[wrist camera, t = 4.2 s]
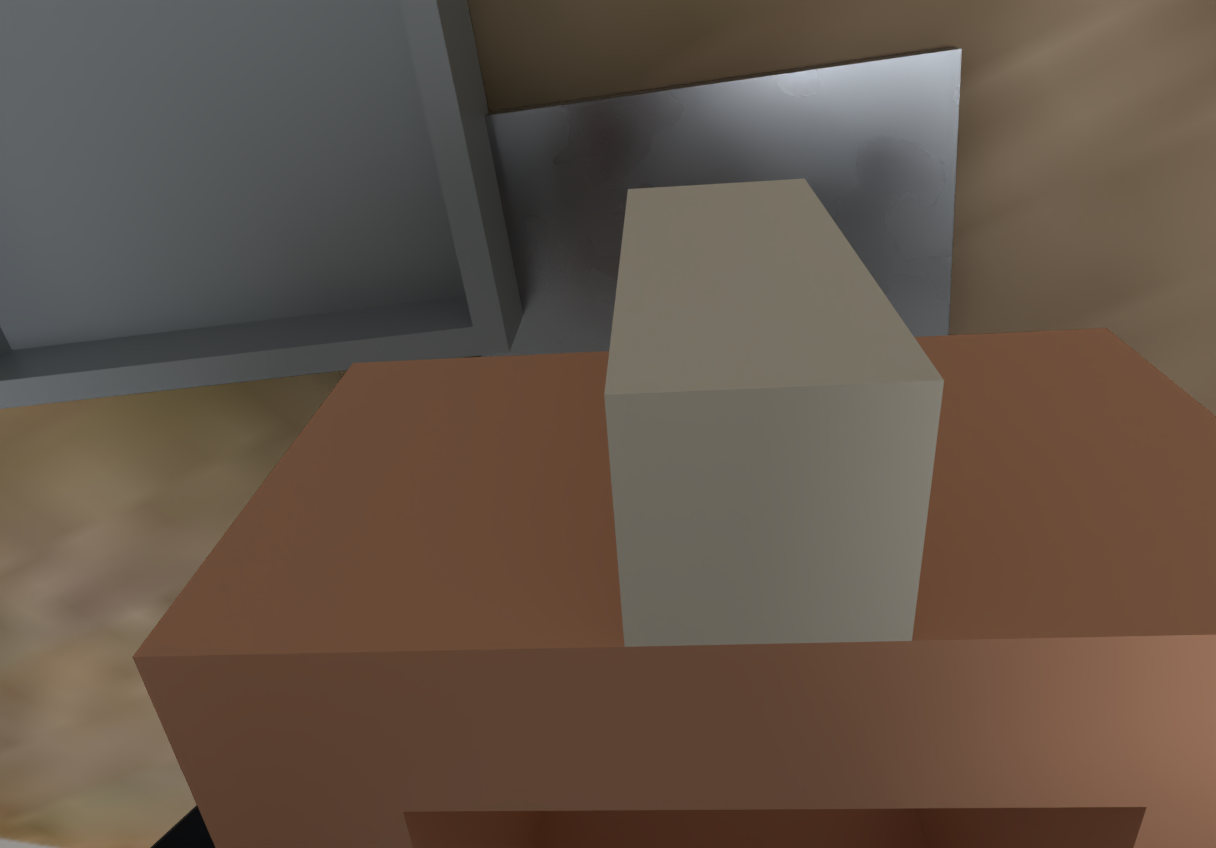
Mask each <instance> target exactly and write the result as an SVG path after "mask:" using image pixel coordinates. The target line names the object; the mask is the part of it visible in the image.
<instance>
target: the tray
mask: <svg viewBox="0 0 1216 848" xmlns="http://www.w3.org/2000/svg"><path fill="white" fill-rule="evenodd" d="M488 112H489V111H488V106H487V100H486V95H485V90H484V85H483V80H482V74H481V69H480V64H479V59H478V54H477V49H476V43H475V38H474V33H473V28H472V23H471V17H470V12H469V7H468V2H467V0H0V409H2V408H11V407H20V406H29V405H38V404H47V403H56V402H65V401H74V400H83V399H92V398H101V397H110V396H119V395H128V394H137V393H146V392H155V391H164V390H173V389H182V388H191V387H200V386H209V385H218V384H227V383H236V382H245V381H254V380H263V379H272V378H281V377H290V376H299V375H308V374H317V373H326V372H335V371H344V370H348V369H349V367H350V366H351V365H352V363H362V362H384V361H405V360H427V359H449V358H461V357H470V356H479V355H488V354H497V353H506V352H510V349H511V347H512V344H513V341H514V339H515V336H516V333H517V331H518V328H519V325H520V323H521V320H522V317H523V311H522V306H521V301H520V296H519V291H518V285H517V280H516V275H515V270H514V265H513V260H512V255H511V250H510V245H509V239H508V234H507V229H506V224H505V219H504V214H503V209H502V204H501V199H500V193H499V188H498V183H497V178H496V173H495V168H494V163H493V158H492V153H491V147H490V142H489V137H488V132H487V127H486V122H485V117H484V116H485V115H486V114H487V113H488Z"/></svg>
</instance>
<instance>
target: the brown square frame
mask: <svg viewBox="0 0 1216 848" xmlns="http://www.w3.org/2000/svg"><path fill="white" fill-rule="evenodd" d="M133 659H134V661H135V664H136V666H137V668H138V671H139V673H140V675H141V678H142V680H143V682H144V684H145V687H146V689H147V691H148V694H149V696H150V698H151V701H152V703H153V705H154V707H155V710H156V712H157V714H158V717H159V719H160V721H161V723H162V726H163V728H164V730H165V733H166V735H167V737H168V740H169V742H170V744H171V746H172V749H173V751H174V753H175V756H176V758H177V760H178V763H179V765H180V767H181V769H182V772H183V774H184V776H185V779H186V781H187V783H188V786H189V788H190V790H191V792H192V795H193V797H194V799H195V802H196V804H197V806H198V809H199V811H200V813H201V815H202V818H203V820H204V822H205V825H206V827H207V829H208V832H209V834H210V836H211V838H212V841H213V843H214V845H215V848H1216V416H1214V415H1213V414H1212V413H1211V412H1210V411H1208V410H1207V409H1206V408H1205V407H1203V406H1202V405H1201V404H1200V403H1198V402H1197V401H1196V400H1195V399H1194V398H1192V397H1191V396H1190V395H1189V394H1187V393H1186V392H1185V391H1184V390H1182V389H1181V388H1180V387H1179V386H1178V385H1176V384H1175V383H1174V382H1173V381H1171V380H1170V379H1169V378H1168V377H1166V376H1165V375H1164V374H1163V373H1161V372H1160V371H1159V370H1158V369H1157V368H1155V367H1154V366H1153V365H1152V364H1150V363H1149V362H1148V361H1147V360H1145V359H1144V358H1143V357H1142V356H1141V355H1139V354H1138V353H1137V352H1136V351H1134V350H1133V349H1132V348H1131V347H1129V346H1128V345H1127V344H1126V343H1125V342H1123V341H1122V340H1121V339H1120V338H1118V337H1117V336H1116V335H1115V334H1113V333H1112V332H1111V331H1110V330H1109V329H1107V328H1097V329H1075V330H1053V331H1032V332H1010V333H989V334H967V335H945V336H924V337H914V336H913V335H912V333H911V332H910V330H909V329H908V327H907V326H906V325H905V323H904V322H903V320H902V319H901V317H900V316H899V314H898V313H897V311H896V310H895V309H894V307H893V306H892V304H891V303H890V301H889V300H888V298H887V297H886V296H885V294H884V293H883V291H882V290H881V288H880V287H879V285H878V284H877V283H876V281H875V280H874V278H873V277H872V275H871V274H870V272H869V271H868V269H867V268H866V267H865V265H864V264H863V262H862V261H861V259H860V258H859V256H858V255H857V254H856V252H855V251H854V249H853V248H852V246H851V245H850V243H849V242H848V241H847V239H846V238H845V236H844V235H843V233H842V232H841V230H840V229H839V227H838V226H837V225H836V223H835V222H834V220H833V219H832V217H831V216H830V214H829V213H828V212H827V210H826V209H825V207H824V206H823V204H822V203H821V201H820V200H819V199H818V197H817V196H816V194H815V193H814V191H813V190H812V188H811V187H810V185H809V184H808V183H807V181H806V180H805V179H788V180H772V181H755V182H738V183H722V184H705V185H689V186H672V187H655V188H639V189H628V193H627V202H626V210H625V219H624V228H623V236H622V245H621V254H620V262H619V271H618V280H617V288H616V297H615V306H614V315H613V323H612V332H611V341H610V349H609V351H600V352H578V353H557V354H535V355H513V356H492V357H470V358H449V359H427V360H405V361H384V362H362V363H352V365H351V366H350V367H349V369H348V370H347V371H346V373H345V374H344V375H343V377H342V378H341V379H340V381H339V382H338V383H337V385H336V386H335V387H334V389H333V390H332V391H331V393H330V394H329V395H328V397H327V398H326V399H325V401H324V402H323V403H322V405H321V406H320V407H319V409H318V410H317V411H316V413H315V414H314V415H313V417H312V418H311V419H310V421H309V422H308V423H307V425H306V426H305V427H304V429H303V430H302V431H301V433H300V434H299V435H298V437H297V438H296V439H295V441H294V442H293V443H292V445H291V446H290V447H289V449H288V450H287V451H286V453H285V454H284V455H283V457H282V458H281V459H280V461H279V462H278V463H277V465H276V466H275V467H274V469H273V470H272V471H271V473H270V474H269V475H268V477H267V478H266V479H265V481H264V482H263V483H262V485H261V486H260V487H259V489H258V490H257V491H256V493H255V494H254V495H253V497H252V498H251V499H250V501H249V502H248V503H247V505H246V506H245V507H244V509H243V510H242V511H241V513H240V514H239V515H238V517H237V518H236V520H235V521H234V522H233V524H232V525H231V526H230V528H229V529H228V530H227V532H226V533H225V534H224V536H223V537H222V538H221V540H220V541H219V542H218V544H217V545H216V546H215V548H214V549H213V550H212V552H211V553H210V554H209V556H208V557H207V558H206V560H205V561H204V562H203V564H202V565H201V566H200V568H199V569H198V570H197V572H196V573H195V574H194V576H193V577H192V578H191V580H190V581H189V582H188V584H187V585H186V586H185V588H184V589H183V590H182V592H181V593H180V594H179V596H178V597H177V598H176V600H175V601H174V602H173V604H172V605H171V606H170V608H169V609H168V610H167V612H166V613H165V614H164V616H163V617H162V618H161V620H160V621H159V622H158V624H157V625H156V626H155V628H154V629H153V630H152V632H151V633H150V634H149V636H148V637H147V638H146V640H145V641H144V642H143V644H142V645H141V646H140V648H139V649H138V650H137V652H136V653H135V654H134V656H133Z"/></svg>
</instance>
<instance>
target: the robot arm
mask: <svg viewBox="0 0 1216 848" xmlns="http://www.w3.org/2000/svg"><path fill="white" fill-rule="evenodd" d="M151 848H215V845H214V843H213V841H212V838H211V836H210V834H209V832H208V829H207V827H206V825H205V822H204V820H203V818H202V815H201V813H200V811H199V809H198V806H197V805H196V806H195V807H194V808H193V809H192V810H191V811H190V812H189V813H188V814H187V815H186V816H184V817H183V818H182V819H181V820H180V821H179V822H178V823H177V824H176V825H175V826H173V827H172V828H171V829H170V830H169V831H168V832H167V833H166V834H165V835H164V836H163V837H161V838H160V839H159V840H158V841H157V842H156V843H155V844H154V845H153V846H152V847H151Z"/></svg>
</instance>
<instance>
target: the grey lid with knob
mask: <svg viewBox="0 0 1216 848" xmlns="http://www.w3.org/2000/svg"><path fill="white" fill-rule="evenodd" d="M961 53H962V49H961V48H957V47H954V46H952V47H945V48H938V49H931V50H924V51H917V52H910V53H903V54H896V55H889V56H882V57H875V58H868V59H861V60H854V61H847V62H840V63H832V64H825V65H818V66H811V67H804V68H797V69H790V70H783V71H776V72H769V73H762V74H755V75H748V76H741V77H734V78H727V79H720V80H713V81H705V82H698V83H691V84H684V85H677V86H670V87H663V88H656V89H649V90H642V91H635V92H628V93H621V94H614V95H607V96H600V97H593V98H586V99H578V100H571V101H564V102H557V103H550V104H543V105H536V106H529V107H522V108H515V109H508V110H501V111H494V112H488V113H487V114H486V115H485V116H484V117H485V122H486V127H487V132H488V137H489V142H490V147H491V153H492V158H493V163H494V168H495V173H496V178H497V183H498V188H499V193H500V199H501V204H502V209H503V214H504V219H505V224H506V229H507V234H508V239H509V245H510V250H511V255H512V260H513V265H514V270H515V275H516V280H517V285H518V291H519V296H520V301H521V306H522V311H523V317H522V320H521V323H520V325H519V328H518V331H517V333H516V336H515V339H514V341H513V344H512V347H511V349H510V352H506V353H497V354H488V355H481V357H492V356H513V355H535V354H557V353H578V352H600V351H609V349H610V341H611V332H612V323H613V315H614V306H615V297H616V288H617V280H618V271H619V262H620V254H621V245H622V236H623V228H624V219H625V210H626V202H627V193H628V189H639V188H655V187H672V186H689V185H705V184H722V183H738V182H755V181H772V180H788V179H805V180H806V181H807V183H808V184H809V185H810V187H811V188H812V190H813V191H814V193H815V194H816V196H817V197H818V199H819V200H820V201H821V203H822V204H823V206H824V207H825V209H826V210H827V212H828V213H829V214H830V216H831V217H832V219H833V220H834V222H835V223H836V225H837V226H838V227H839V229H840V230H841V232H842V233H843V235H844V236H845V238H846V239H847V241H848V242H849V243H850V245H851V246H852V248H853V249H854V251H855V252H856V254H857V255H858V256H859V258H860V259H861V261H862V262H863V264H864V265H865V267H866V268H867V269H868V271H869V272H870V274H871V275H872V277H873V278H874V280H875V281H876V283H877V284H878V285H879V287H880V288H881V290H882V291H883V293H884V294H885V296H886V297H887V298H888V300H889V301H890V303H891V304H892V306H893V307H894V309H895V310H896V311H897V313H898V314H899V316H900V317H901V319H902V320H903V322H904V323H905V325H906V326H907V327H908V329H909V330H910V332H911V333H912V335H913V336H914V337H924V336H945V335H948V333H949V311H950V290H951V268H952V247H953V225H954V204H955V182H956V160H957V139H958V117H959V96H960V74H961Z"/></svg>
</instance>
